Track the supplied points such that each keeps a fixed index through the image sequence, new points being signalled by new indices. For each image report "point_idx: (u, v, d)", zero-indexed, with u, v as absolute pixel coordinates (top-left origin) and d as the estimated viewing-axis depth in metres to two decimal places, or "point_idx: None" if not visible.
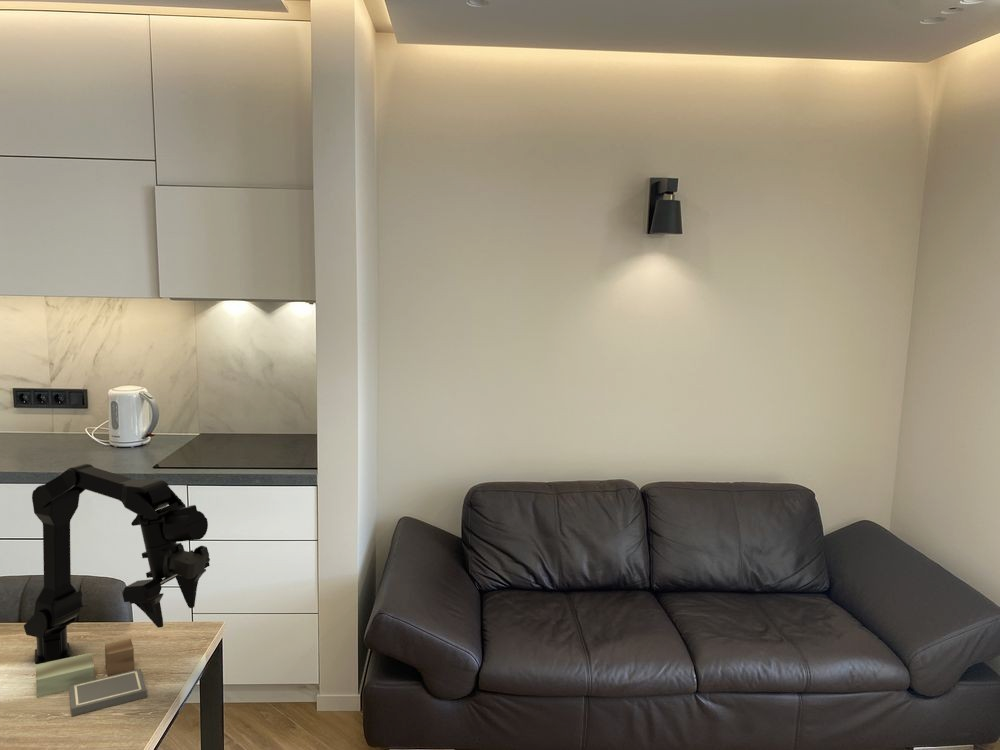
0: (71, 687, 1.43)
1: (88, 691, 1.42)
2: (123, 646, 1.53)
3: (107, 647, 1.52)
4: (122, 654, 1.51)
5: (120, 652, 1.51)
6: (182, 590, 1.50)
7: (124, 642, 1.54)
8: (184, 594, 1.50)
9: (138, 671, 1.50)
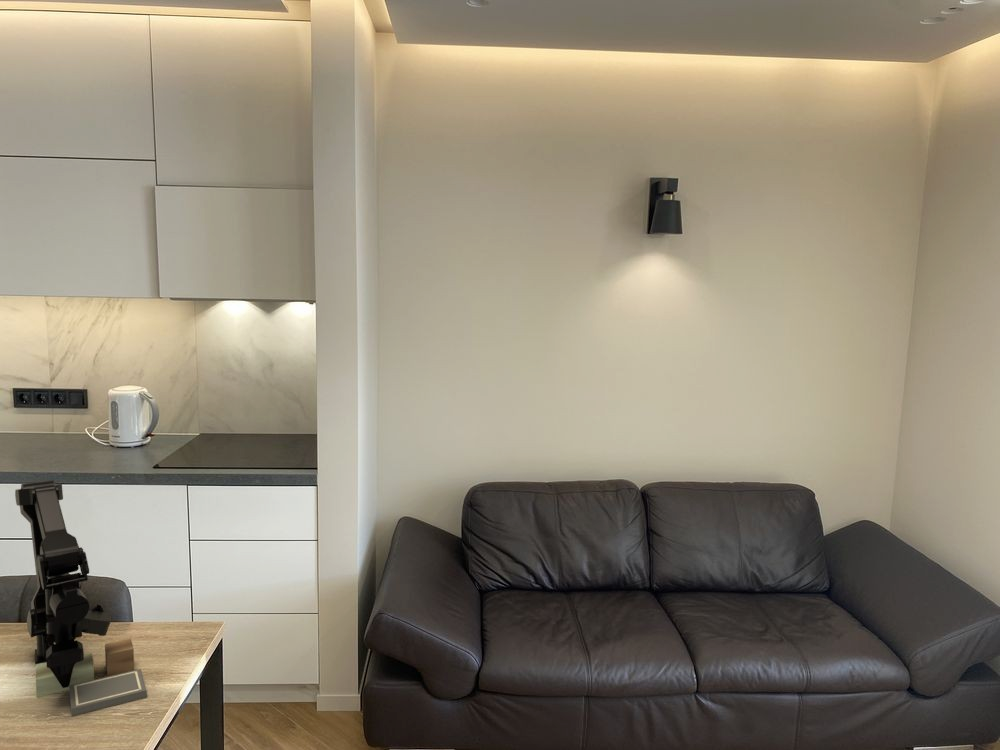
0: (71, 687, 1.43)
1: (88, 691, 1.42)
2: (123, 646, 1.53)
3: (107, 647, 1.52)
4: (122, 654, 1.51)
5: (120, 652, 1.51)
6: None
7: (124, 642, 1.54)
8: None
9: (138, 671, 1.50)
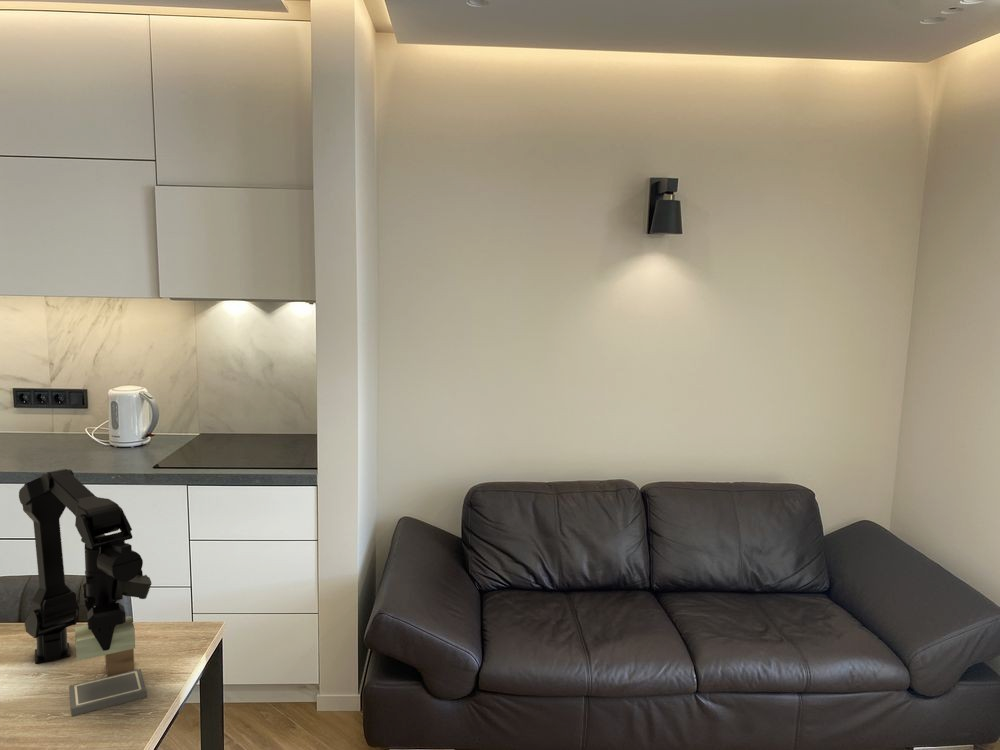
0: (71, 687, 1.43)
1: (88, 691, 1.42)
2: None
3: None
4: (122, 654, 1.51)
5: (120, 652, 1.51)
6: None
7: None
8: None
9: (138, 671, 1.50)
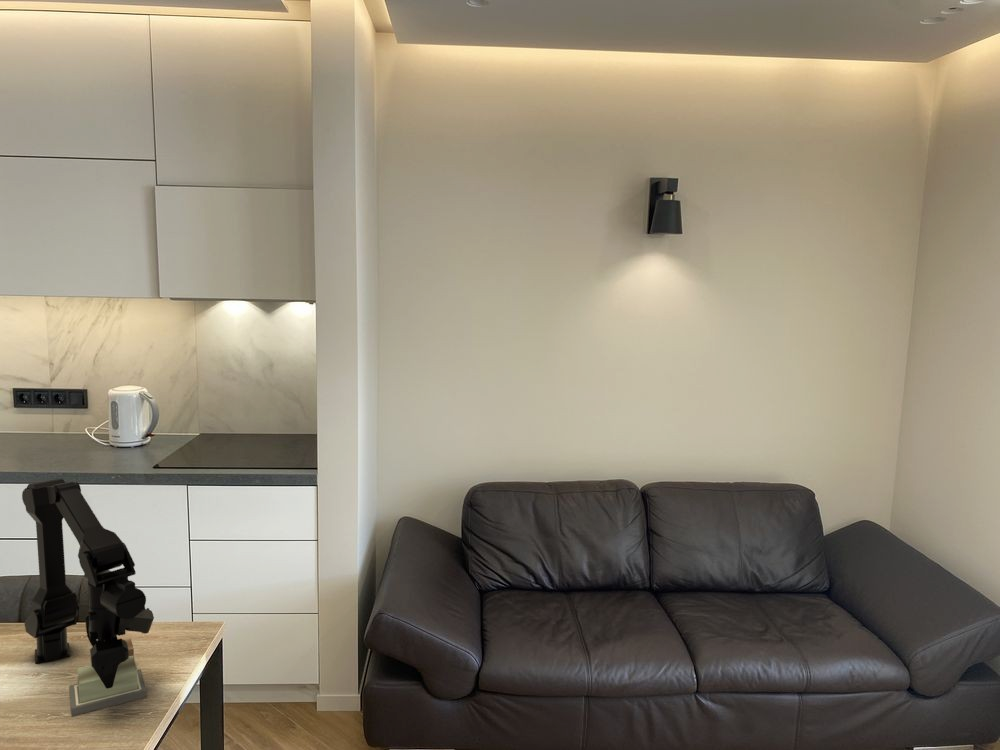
0: (71, 687, 1.43)
1: None
2: None
3: None
4: None
5: None
6: None
7: None
8: None
9: (138, 671, 1.50)
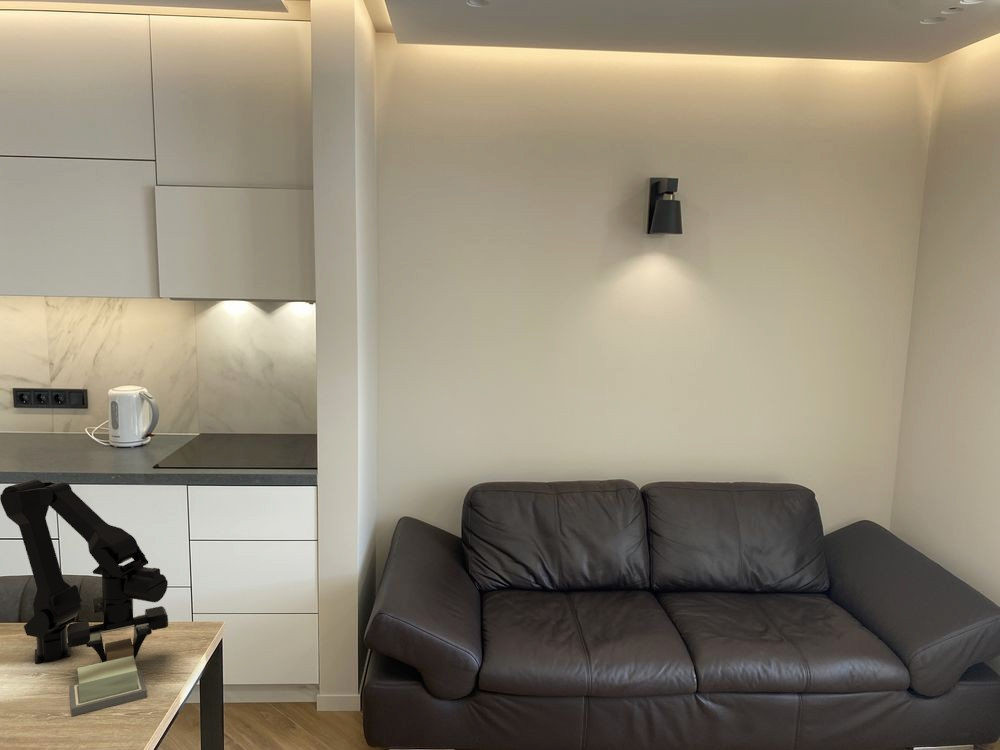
0: (71, 687, 1.43)
1: None
2: (123, 646, 1.53)
3: (107, 647, 1.52)
4: (122, 654, 1.51)
5: (120, 652, 1.51)
6: (104, 652, 1.50)
7: (124, 642, 1.54)
8: (105, 655, 1.50)
9: (138, 671, 1.50)
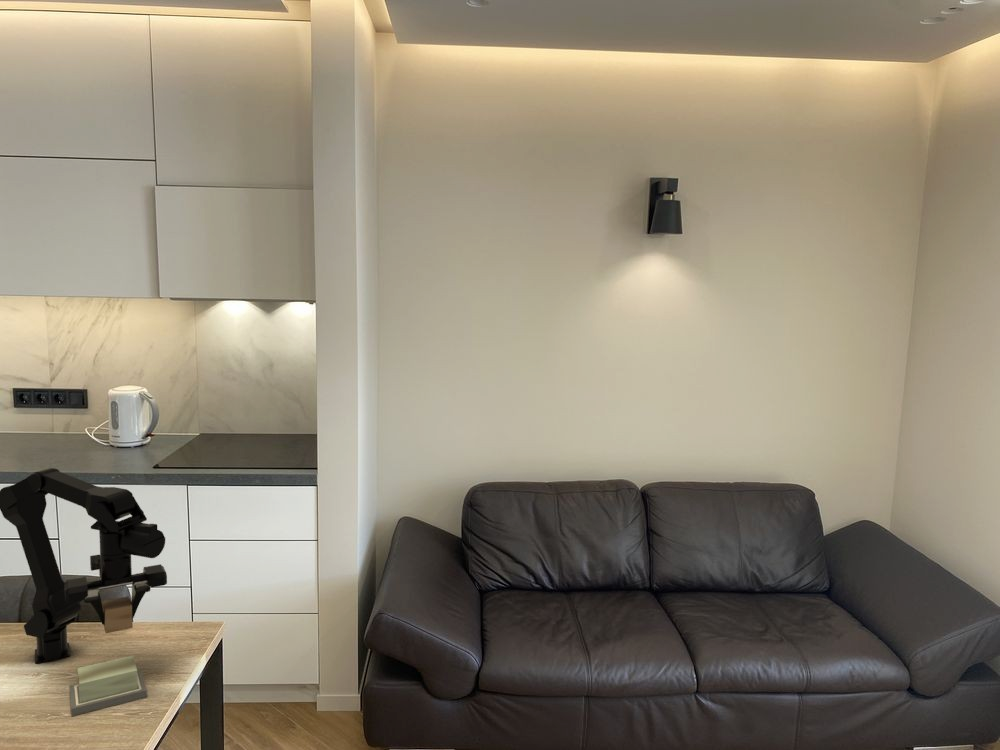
0: (71, 687, 1.43)
1: None
2: (121, 603, 1.50)
3: (105, 604, 1.50)
4: (120, 611, 1.49)
5: (118, 609, 1.49)
6: (102, 609, 1.48)
7: (122, 600, 1.52)
8: None
9: (138, 671, 1.50)
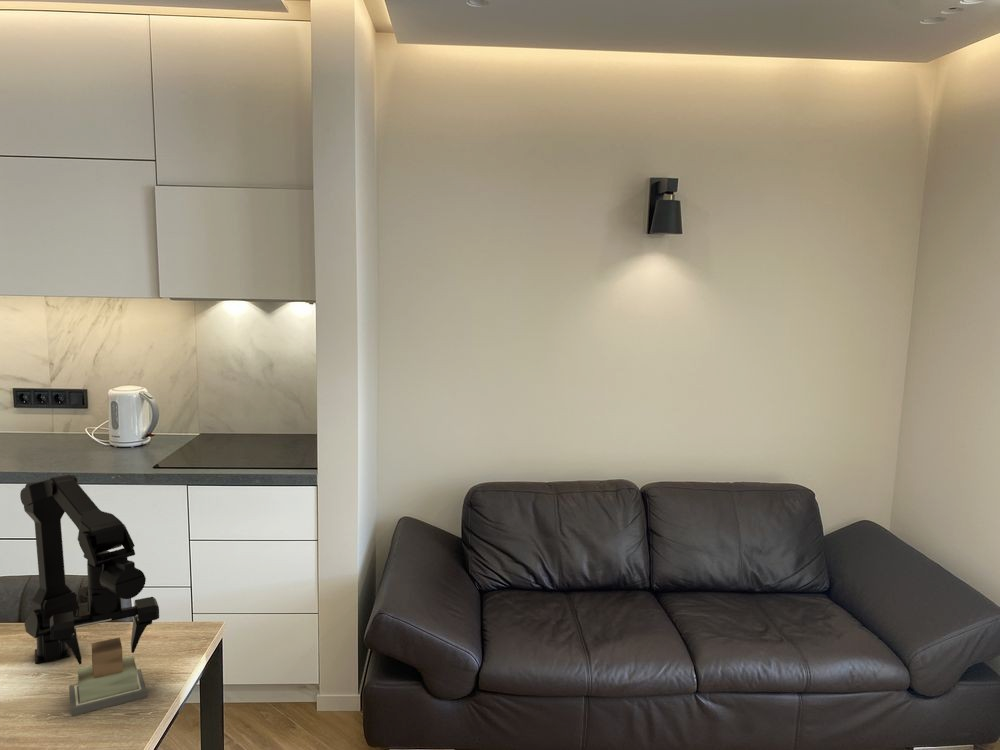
0: (71, 687, 1.43)
1: None
2: (111, 646, 1.42)
3: (94, 647, 1.41)
4: (110, 654, 1.40)
5: (108, 652, 1.40)
6: (79, 648, 1.38)
7: (112, 642, 1.44)
8: (79, 651, 1.39)
9: (138, 671, 1.50)
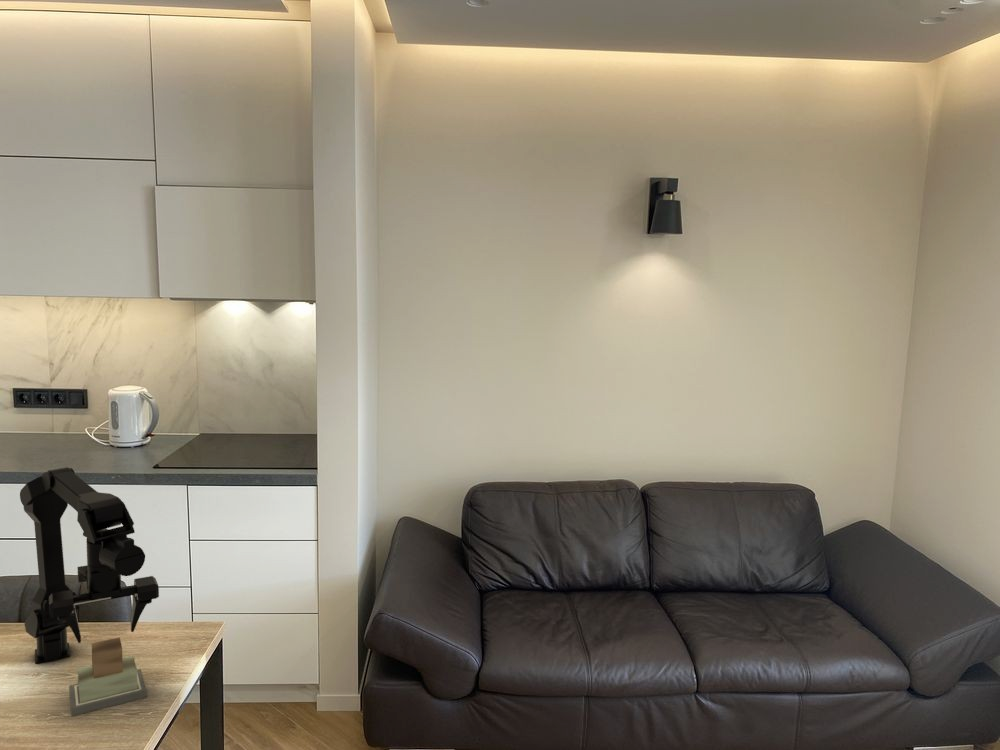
0: (71, 687, 1.43)
1: None
2: (111, 646, 1.42)
3: (94, 647, 1.41)
4: (110, 654, 1.40)
5: (108, 652, 1.40)
6: (78, 626, 1.38)
7: (112, 642, 1.44)
8: (79, 630, 1.38)
9: (138, 671, 1.50)
